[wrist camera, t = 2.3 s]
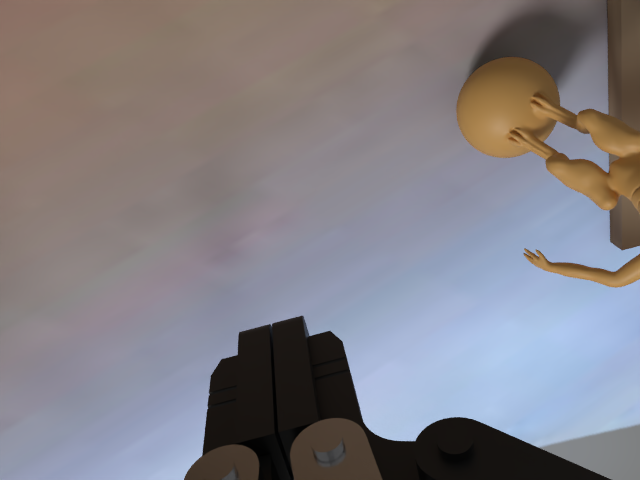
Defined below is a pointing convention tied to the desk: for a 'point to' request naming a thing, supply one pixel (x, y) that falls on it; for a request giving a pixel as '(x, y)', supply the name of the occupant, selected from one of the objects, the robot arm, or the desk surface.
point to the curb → (624, 103)
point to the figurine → (529, 135)
